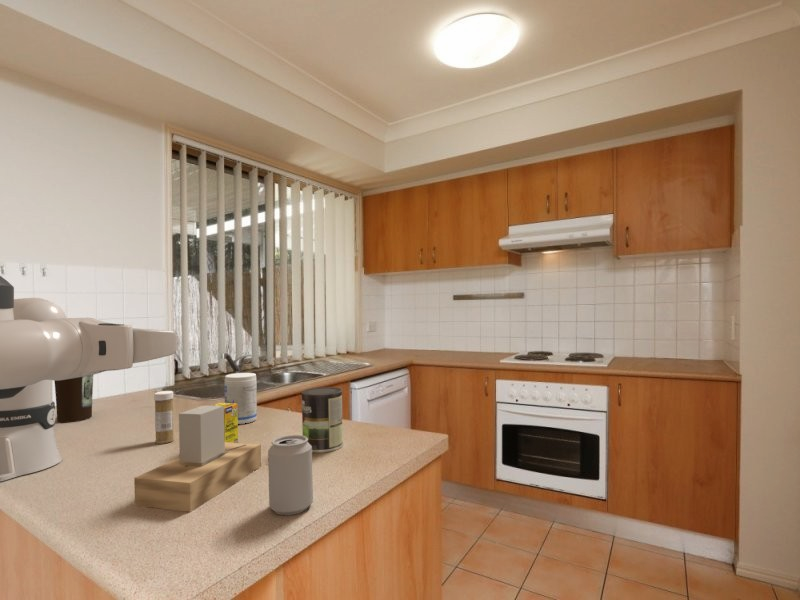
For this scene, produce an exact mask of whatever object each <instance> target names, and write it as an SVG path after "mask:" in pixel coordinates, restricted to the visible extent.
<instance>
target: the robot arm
mask: <svg viewBox="0 0 800 600" xmlns="http://www.w3.org/2000/svg"><path fill="white" fill-rule="evenodd" d="M178 344H179V339H178V336H177V333H176V332H175V331H173V330H168V329H167V330H165V329H154V328H153V329H152V328H151V329H148V328H134V327H133V326H132V325H131V324H121V323H110V322H105V321H102V320H97V319H96V318H92V317H67V314H66V313H65V311H64V309H63V308H62V307H61V306H59V305H58V304H57V303H55V302H53V301H49V300H48V299H44V298H40V297H26V298H25V297H24V298H22V297H21V298H15V286H14V285H12V283H10V282H9V281H8V280H6V278H5V277H3V276H2V275H0V482H3V481H8V480H10V479H13V478H16V477H20V476H23V475H24V476H25V475H28V474H32V473H36V472H39V471H42V470H45V469H48V468H50V467H53V466H55V465H57V464H59V463H60V462H61V461H63V457H62V455H61V453H60V450H59V447H58V442H57V437H56V433H55V425H56V419H57V412H56V401H55V402H54V401H53V382H54V381H59V380H66V379H72V378H78V377H84V376H90V375H93V376H95V375H97V374H101V373H104V372H108V371H121V370H127V369H131V368H133V364H136V363H137V364H138V363H143V362H149V361H153V360H158V359H161V358H165V357H170V356H173V355H174V354H176V352H177V348H178Z"/></svg>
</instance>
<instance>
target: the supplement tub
mask: <svg viewBox="0 0 800 600" xmlns="http://www.w3.org/2000/svg"><path fill="white" fill-rule="evenodd" d="M257 384H258V383H257V374H256V373H254V372H238V373H236V372H235V373H229V374H226V375H225V376H224V403H237V404H238V424H240V425H246V424H245V423H247V424H249V423H250V422H251V423H253V422H255V421H256V420H257V418H258V417H257V415H258V413H257V412H258V409H257V408H258V400H257V396H258V395H257V392H258V391H257V389H258V388H257Z"/></svg>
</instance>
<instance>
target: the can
mask: <svg viewBox="0 0 800 600" xmlns="http://www.w3.org/2000/svg"><path fill="white" fill-rule="evenodd" d="M307 441H308V438H307V437H305V436H303V434H302V435H301V434H300V435H299V434H291V435H289V434H288V435H283V436H279V437H276V438H275V439H273V440H272V441H271V446H270V447H269V448H268V451H267V457H268V459H267V460H268V463H267V464H268V465H267V466H268V467H267V468H268V505H269V508H270V509H271V510H272V511H274V512H275V514H277V515H280V516H282V515H283V516H285V515H286V516H291V515H297V514H300V513H302V512H304V511H305V510H307V509H308V508H309V506H310V505H311V504H312V503H313V501H314V485H313V484H314V481H313V452H312V446H311V445H310V444H309V443H308V442H307Z"/></svg>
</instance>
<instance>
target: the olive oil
mask: <svg viewBox="0 0 800 600" xmlns="http://www.w3.org/2000/svg"><path fill="white" fill-rule="evenodd" d="M53 382H54V392H55V409H56V422H57V423H73V422H80V421H85V420H88V419H91V418H92V416H93V392H94V390H93V389H94V375H90V376H84V377H78V378H72V379H66V380H59V381H54V380H53Z"/></svg>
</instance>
